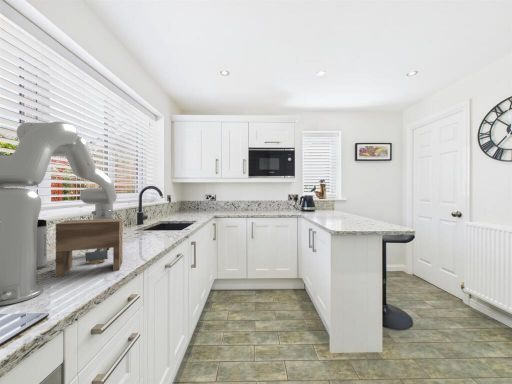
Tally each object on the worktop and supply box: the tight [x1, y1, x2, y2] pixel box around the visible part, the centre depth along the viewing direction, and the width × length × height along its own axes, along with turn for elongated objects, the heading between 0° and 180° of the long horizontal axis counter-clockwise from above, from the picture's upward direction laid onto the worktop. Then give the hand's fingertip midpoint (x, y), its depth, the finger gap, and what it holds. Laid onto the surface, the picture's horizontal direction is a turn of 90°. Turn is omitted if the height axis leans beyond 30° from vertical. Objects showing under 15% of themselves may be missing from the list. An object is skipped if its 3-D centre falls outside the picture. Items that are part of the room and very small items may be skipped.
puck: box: [87, 259, 106, 265], centre depth 107 cm, size 6×6×2 cm
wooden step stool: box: [55, 218, 124, 278], centre depth 97 cm, size 13×20×19 cm, turn 113°
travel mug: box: [36, 218, 48, 271], centre depth 98 cm, size 6×7×20 cm
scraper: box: [85, 248, 109, 262], centre depth 114 cm, size 19×8×7 cm, turn 23°
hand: (104, 249), depth 122 cm, fingers closed on scraper, 2 cm apart
